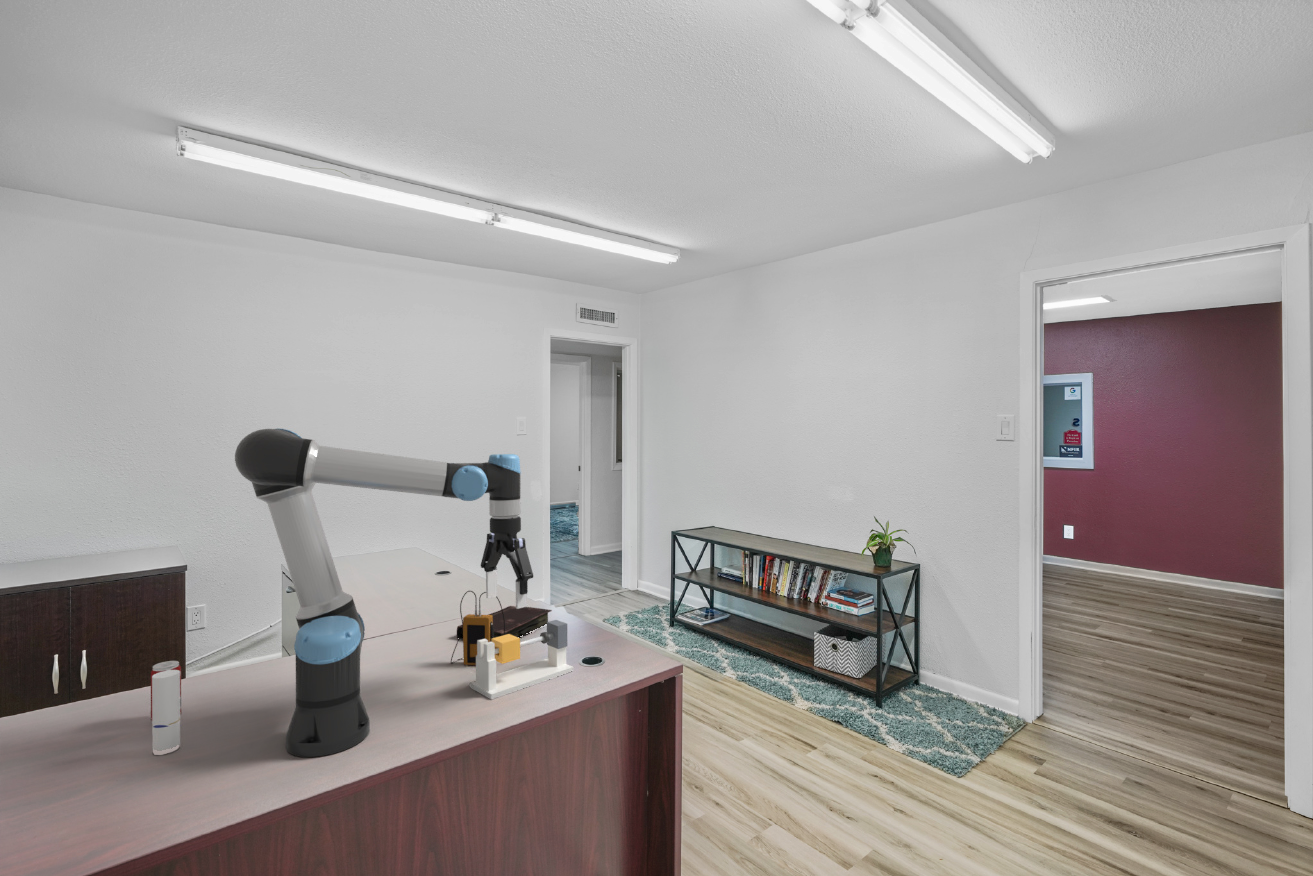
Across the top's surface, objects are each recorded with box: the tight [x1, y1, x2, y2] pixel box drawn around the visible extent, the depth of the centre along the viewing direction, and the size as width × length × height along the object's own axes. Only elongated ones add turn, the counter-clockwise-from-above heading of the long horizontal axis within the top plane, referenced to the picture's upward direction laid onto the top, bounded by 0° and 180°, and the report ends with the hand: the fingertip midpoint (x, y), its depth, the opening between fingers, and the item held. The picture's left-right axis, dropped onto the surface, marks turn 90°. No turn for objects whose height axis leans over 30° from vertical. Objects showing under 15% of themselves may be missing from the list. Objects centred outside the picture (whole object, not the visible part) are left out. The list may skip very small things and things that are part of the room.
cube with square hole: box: [492, 634, 521, 665], centre depth 153 cm, size 5×5×5 cm
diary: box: [456, 605, 553, 639], centre depth 196 cm, size 19×25×5 cm
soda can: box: [150, 660, 182, 719], centre depth 135 cm, size 5×5×12 cm
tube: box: [151, 670, 181, 751], centre depth 122 cm, size 4×4×15 cm
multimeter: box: [450, 590, 505, 666], centre depth 171 cm, size 15×10×20 cm
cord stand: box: [469, 619, 574, 700], centre depth 157 cm, size 24×10×12 cm, turn 135°
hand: (506, 602), depth 153 cm, fingers open, 13 cm apart
